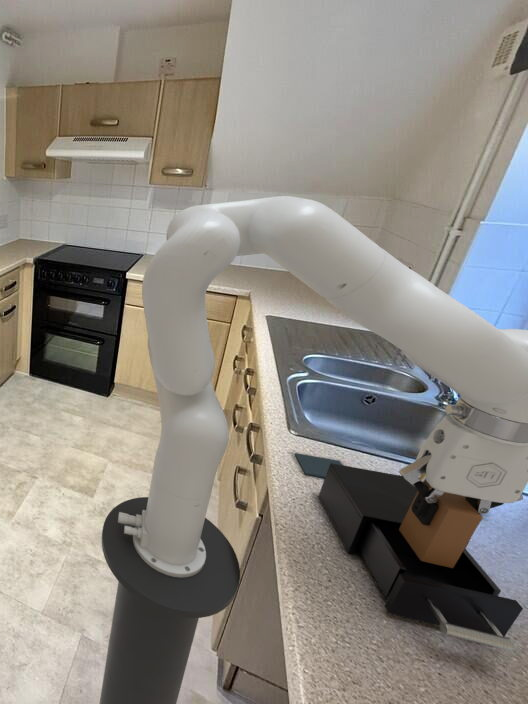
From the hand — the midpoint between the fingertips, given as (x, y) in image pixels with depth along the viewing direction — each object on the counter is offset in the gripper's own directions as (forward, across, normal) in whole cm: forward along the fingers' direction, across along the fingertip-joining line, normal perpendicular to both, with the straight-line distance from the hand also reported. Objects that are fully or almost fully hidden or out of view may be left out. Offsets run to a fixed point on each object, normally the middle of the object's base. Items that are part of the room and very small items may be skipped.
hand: (438, 521), depth 62 cm
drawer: (+12, +1, -4) cm, 13 cm away
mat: (+13, -2, +28) cm, 31 cm away
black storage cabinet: (+13, +1, +10) cm, 17 cm away
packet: (+5, 0, 0) cm, 5 cm away
